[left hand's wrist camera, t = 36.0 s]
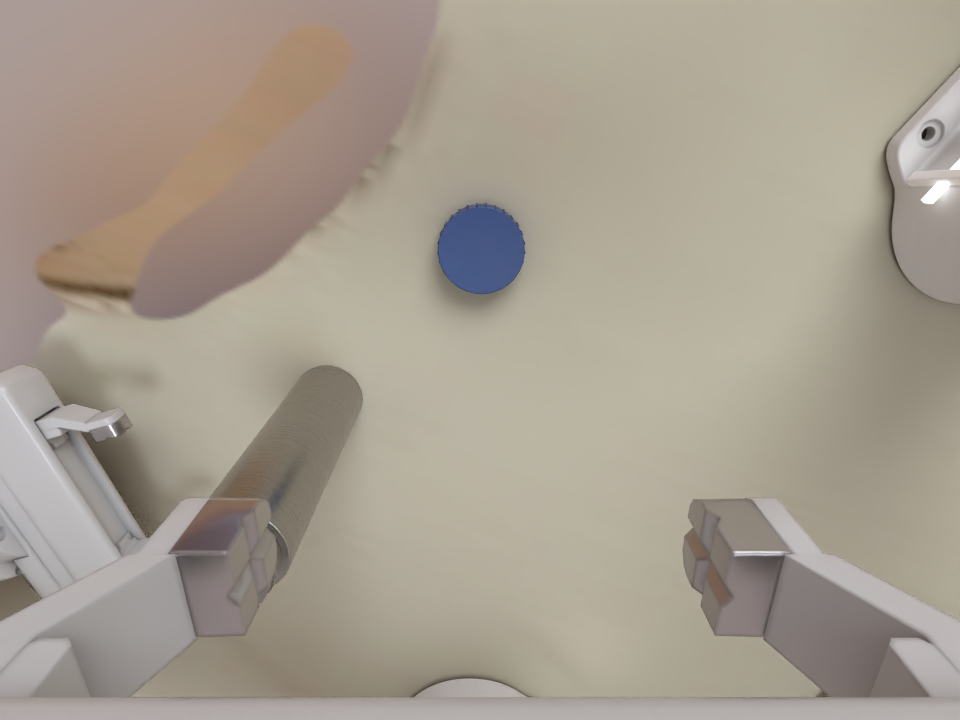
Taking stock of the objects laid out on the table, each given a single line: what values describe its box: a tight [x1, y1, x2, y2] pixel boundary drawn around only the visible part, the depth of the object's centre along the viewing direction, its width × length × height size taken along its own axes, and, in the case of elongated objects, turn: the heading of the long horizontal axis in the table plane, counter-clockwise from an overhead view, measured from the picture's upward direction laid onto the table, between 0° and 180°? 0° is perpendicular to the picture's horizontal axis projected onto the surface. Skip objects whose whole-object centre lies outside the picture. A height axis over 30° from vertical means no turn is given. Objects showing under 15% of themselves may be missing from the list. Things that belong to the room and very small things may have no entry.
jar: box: [209, 366, 362, 604], centre depth 35 cm, size 5×5×20 cm
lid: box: [438, 203, 525, 294], centre depth 38 cm, size 6×6×2 cm
